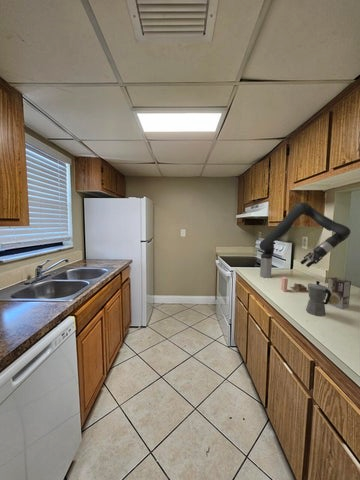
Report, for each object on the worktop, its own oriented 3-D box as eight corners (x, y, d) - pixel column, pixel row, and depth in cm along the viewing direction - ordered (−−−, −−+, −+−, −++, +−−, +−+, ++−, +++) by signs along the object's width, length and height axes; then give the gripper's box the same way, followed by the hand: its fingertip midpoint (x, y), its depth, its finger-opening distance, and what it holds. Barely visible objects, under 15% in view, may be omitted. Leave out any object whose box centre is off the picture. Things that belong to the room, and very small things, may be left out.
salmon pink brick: (281, 290, 149) (282, 276, 148) (284, 290, 149) (285, 276, 148) (283, 292, 144) (284, 278, 143) (286, 292, 144) (287, 278, 143)
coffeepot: (299, 307, 120) (301, 277, 118) (314, 307, 121) (316, 277, 119) (320, 320, 105) (322, 286, 103) (336, 320, 106) (339, 286, 104)
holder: (289, 287, 155) (289, 281, 155) (303, 288, 154) (303, 282, 153) (296, 293, 143) (296, 286, 143) (311, 294, 142) (312, 287, 142)
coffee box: (349, 307, 121) (351, 281, 119) (342, 309, 118) (344, 282, 117) (332, 302, 129) (335, 277, 127) (326, 303, 127) (328, 278, 125)
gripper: (313, 244, 148) (295, 259, 151) (325, 246, 134) (305, 263, 137) (321, 251, 148) (303, 266, 151) (333, 255, 134) (312, 271, 137)
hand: (303, 264), depth 144 cm, fingers open, 8 cm apart
